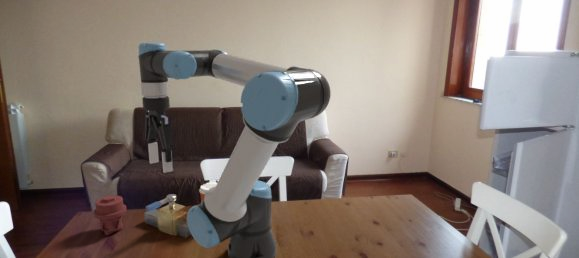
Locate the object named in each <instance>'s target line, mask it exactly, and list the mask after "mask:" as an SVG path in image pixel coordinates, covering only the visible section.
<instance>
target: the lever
mask: <svg viewBox="0 0 579 258" xmlns="http://www.w3.org/2000/svg"><path fill="white" fill-rule="evenodd" d="M173 201H174V202H176V201H177V194H175V193H171V194H170V193H169V194H167V195H166V197H165V198H164V199H161V200H159V201H155V202H152V203H150V204H148V205H145V212H147V211H149V212H150V211H152V210H154V209H156V210H157V209H158V208H160V207H161V206H162V205H165V204H167V203H169V202H173Z"/></svg>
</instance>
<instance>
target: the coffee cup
mask: <svg viewBox="0 0 579 258" xmlns="http://www.w3.org/2000/svg"><path fill="white" fill-rule="evenodd" d="M217 183H218V182H216V181H214V182H205V183H203V184H201V185H200V188H199V189H198V192H199V193H200V200H201V201H200V203H201V202H202V200H203V198H204V196H205V194H206V193H207V191H208V190H209V189H210V188H212V187H215V186H216V185H217Z"/></svg>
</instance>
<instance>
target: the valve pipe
mask: <svg viewBox="0 0 579 258" xmlns="http://www.w3.org/2000/svg"><path fill="white" fill-rule="evenodd" d="M143 213H144V223H145V224H147V225H149V224H150V226H153V227H154V228H158V231H160V232H162V233H165V234H168V235H171V236H174V235H175V237H177V236H180V237H183V238H188V237H190V236H192V234H191V232H190V230H189V227H188V224H187V213H188V211H187V209H186V206H185V205H182V204H179V203H176V201H173V202H168V204H167V205H165V206H162V207H161V208H159V209H157V208H156V209H154V210H152V211H150V212H149V211H145V212H143Z"/></svg>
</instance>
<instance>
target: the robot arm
mask: <svg viewBox="0 0 579 258" xmlns="http://www.w3.org/2000/svg"><path fill="white" fill-rule="evenodd" d="M137 57H138V64H139V72H140V89H141V95H142V96H143V97H142V109H143V110H144V117H145V118H144V140H145V141H146V142H147V146H148V159H149V164H150V165H151V164H156V163H159V162H160V157H159V147H158V142H159V140H160V144H161V148H162V150H161V151H160V152H161V159H162V160H161V161H162V172H163V173H164V174H166V173H170V172H173V171H174V168H173V155H172V154H173V152H172V151H175V150H176V146H175V142H174V140H175V139H174V136H173V135H174V134H173V131H172V130H173V129H172V124H171V123H172V121H171V116H167V115H166V112H165V111H166V110H169V109H170V107H171V106H170V105H171V104H170V97H169V96H168V95H169V87H170V84H169V78H170V79H175V80H176V81H177V80H188V79H190V78H196V77H212V78H215V79H219V80H222V81H225V82H228V83H231V84H235V85H238V86H241V87H244V88H243V90H242V91H241V96H240V103H241V104H242V106H241V107H240V110H241V114H242V121H243V124H244V127H243V130H242V132H241V134H240V135H239V138H238V140H237V141H236V144H235V146H234V148H233V150H232V152H231V155H230V156H229V159H228V160H227V163H226V165H225V166H224V168H223V171H222V173H221V175H220V177H219V179H218V181H217V182H216V183H217V185H216V186H215V187H212V188H210V189H209V190H208V191H207V193H206V194H205V196H204V198H203V200H202V202H201V201H200V203H199V204H197V205H193V206H192V207H190V208H189V209H188V211H187V224H188V227H189V230H190V232H191V237H193V239H194V241H196V243H197V244H198V245H200V247H203V248H207V249H211V248H213V247H215V246H219V245H220V243H223V242H224V241H227V240H228V239H229V241H228V246H227V256H228V258H276V255H277V249H278V247H277V246H278V244H277V242H276V239H275V236H274V232H273V230H272V198H273V196H272V189H271V186H270V184H268V183H267V182H265V181H261V180H259V178H260V177H261V175H262V174H263V171H264V170H265V168H266V166H267V165H268V162H269V161H270V160H271V157H272V156H273V154H274V153H275V151H276V149H277V147H278V145H279V144H282V143H286V142H287V141H288V140H289V139H290V138H291V136H292V135H293V133H294V131H295V129H296V128H297V126H298V124H300V122H302V121H303V122H304V121H307V120H310V119H314V118H316V117H318V116H319V115H321V114H322V113H323V112H324V111H325V110H326V109H327V107H328V105H329V103H330V100H331V87H330V84H329V82H328V80H327V78H326V77H325V75H323V74H322V73H320V72H319V71H317V70H315V69H313V68H312V69H311V68H303V67H299V66H293V65H292V66H289V67H287V68H285V67H282V66H281V67H280V66H276V65H274V64H269V63H265V62H261V61H256V60H252V59H249V58H246V57H245V58H244V57H240V56H236V55H232V54H228V53H227V51H225V50H220V49H209V50H207V49H205V50H204V49H203V50H167V47H166V45H165V43H163V42H142V43H139V44H138V56H137ZM158 136H159V139H158V138H157V137H158Z"/></svg>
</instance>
